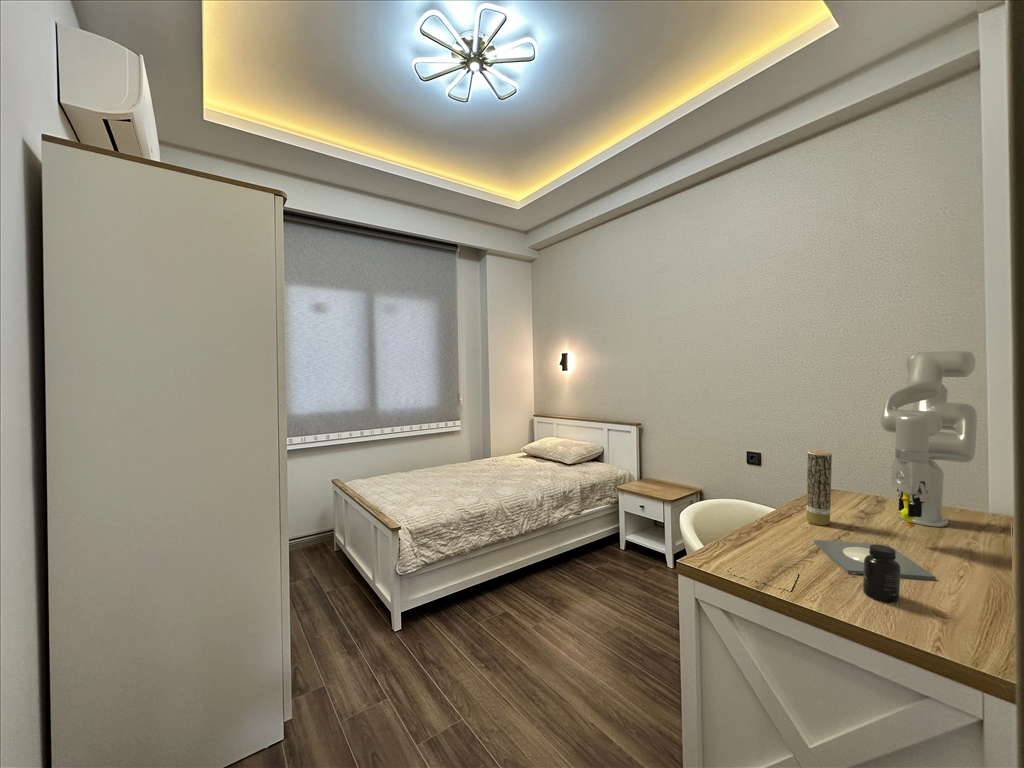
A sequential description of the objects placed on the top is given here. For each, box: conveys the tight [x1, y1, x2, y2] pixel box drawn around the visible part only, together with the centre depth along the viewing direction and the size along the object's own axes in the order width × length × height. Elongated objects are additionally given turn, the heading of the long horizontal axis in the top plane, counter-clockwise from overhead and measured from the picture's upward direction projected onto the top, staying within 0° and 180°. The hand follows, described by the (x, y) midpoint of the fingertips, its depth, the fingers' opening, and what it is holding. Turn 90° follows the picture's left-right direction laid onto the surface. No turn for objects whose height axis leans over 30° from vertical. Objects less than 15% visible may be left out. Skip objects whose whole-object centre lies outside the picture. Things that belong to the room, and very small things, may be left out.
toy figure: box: [896, 492, 926, 528], centre depth 135 cm, size 7×4×12 cm, turn 49°
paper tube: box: [806, 449, 833, 526], centre depth 154 cm, size 7×7×25 cm
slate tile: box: [813, 539, 936, 581], centre depth 127 cm, size 20×20×1 cm
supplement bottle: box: [862, 543, 901, 604], centre depth 107 cm, size 7×7×12 cm
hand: (909, 513), depth 136 cm, fingers closed on toy figure, 3 cm apart
